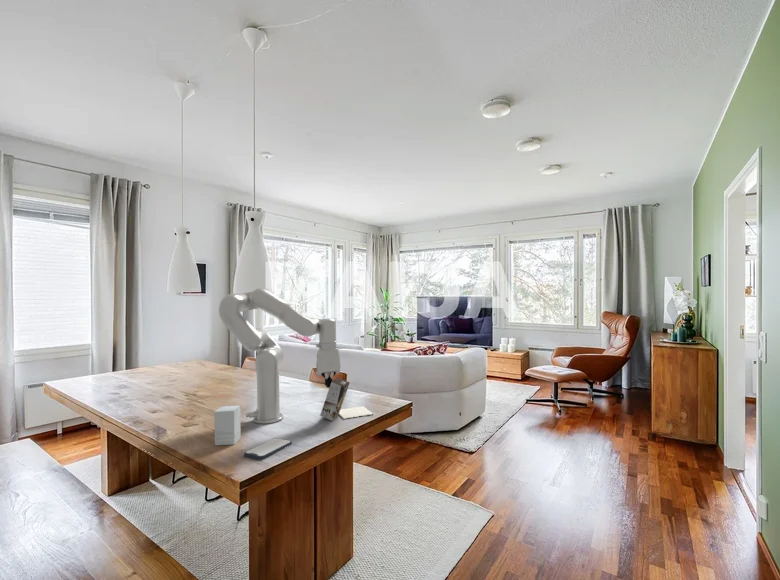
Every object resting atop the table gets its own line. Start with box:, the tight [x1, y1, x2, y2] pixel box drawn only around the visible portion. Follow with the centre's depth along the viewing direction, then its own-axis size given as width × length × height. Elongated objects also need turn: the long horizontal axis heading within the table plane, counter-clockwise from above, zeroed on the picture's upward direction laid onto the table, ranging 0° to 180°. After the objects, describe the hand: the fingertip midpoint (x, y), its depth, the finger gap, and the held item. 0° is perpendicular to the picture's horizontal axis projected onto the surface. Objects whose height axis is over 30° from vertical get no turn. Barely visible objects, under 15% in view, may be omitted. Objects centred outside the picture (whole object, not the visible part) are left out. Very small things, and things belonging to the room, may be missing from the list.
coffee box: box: [319, 377, 350, 422], centre depth 169 cm, size 9×6×16 cm
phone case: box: [243, 437, 293, 461], centre depth 135 cm, size 9×2×16 cm
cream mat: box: [338, 405, 374, 420], centre depth 176 cm, size 14×13×1 cm
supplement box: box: [213, 405, 242, 446], centre depth 144 cm, size 7×7×13 cm
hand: (328, 386), depth 170 cm, fingers closed
